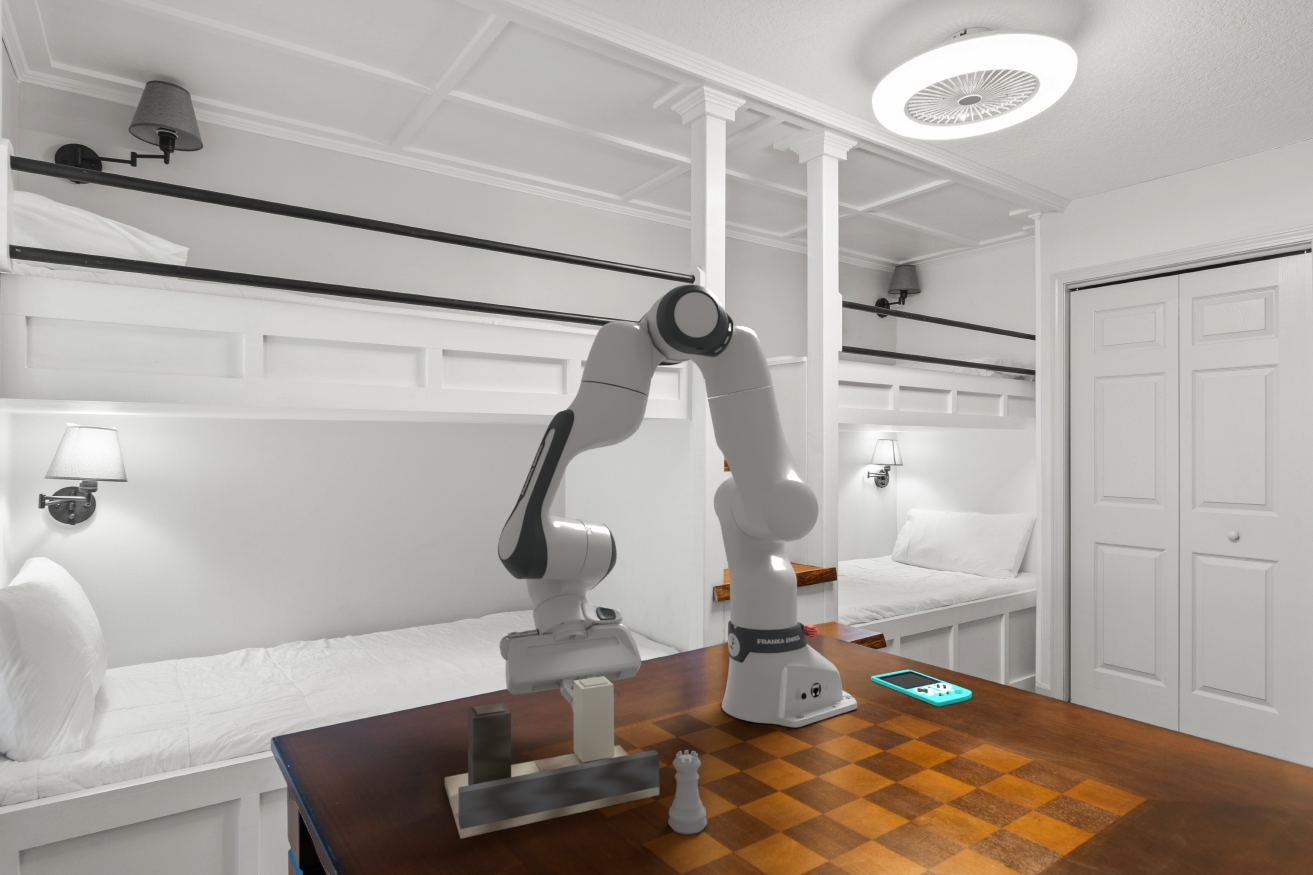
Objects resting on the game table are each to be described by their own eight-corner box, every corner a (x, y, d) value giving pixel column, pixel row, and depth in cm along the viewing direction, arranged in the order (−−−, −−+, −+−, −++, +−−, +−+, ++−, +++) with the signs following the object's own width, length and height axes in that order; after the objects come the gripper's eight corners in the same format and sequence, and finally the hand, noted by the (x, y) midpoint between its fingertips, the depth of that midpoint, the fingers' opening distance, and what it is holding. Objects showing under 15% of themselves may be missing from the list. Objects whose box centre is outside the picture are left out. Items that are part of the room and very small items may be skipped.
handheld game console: (937, 709, 117) (937, 701, 117) (868, 682, 132) (868, 675, 132) (979, 700, 122) (979, 692, 122) (908, 674, 136) (908, 667, 136)
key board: (619, 751, 101) (619, 716, 101) (659, 794, 88) (658, 753, 88) (444, 784, 91) (444, 745, 91) (460, 838, 78) (460, 792, 78)
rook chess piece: (704, 837, 78) (703, 764, 78) (664, 833, 79) (663, 761, 79) (709, 817, 82) (708, 747, 82) (671, 813, 83) (671, 745, 83)
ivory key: (604, 745, 100) (603, 674, 100) (614, 756, 96) (613, 682, 96) (573, 751, 98) (573, 678, 98) (582, 762, 94) (581, 687, 94)
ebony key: (504, 779, 89) (504, 700, 90) (511, 793, 86) (510, 710, 86) (468, 786, 88) (467, 706, 88) (473, 800, 84) (473, 716, 84)
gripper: (500, 622, 104) (515, 711, 95) (630, 608, 112) (655, 689, 103) (494, 645, 108) (508, 732, 99) (620, 631, 116) (644, 710, 107)
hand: (584, 710), depth 101 cm, fingers closed
